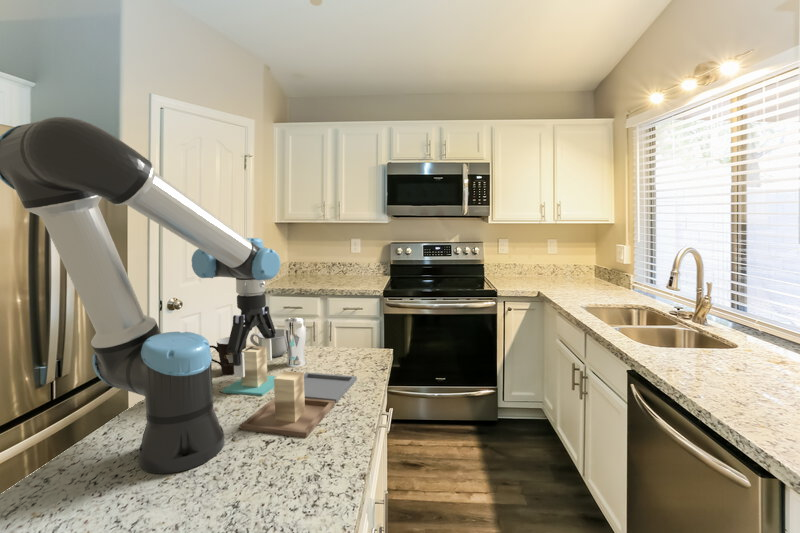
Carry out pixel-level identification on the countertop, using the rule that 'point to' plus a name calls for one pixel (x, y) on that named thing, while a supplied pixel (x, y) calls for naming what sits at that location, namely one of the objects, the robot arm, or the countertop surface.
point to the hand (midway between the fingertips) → (254, 367)
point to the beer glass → (295, 341)
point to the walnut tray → (300, 428)
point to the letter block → (255, 366)
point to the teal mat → (250, 388)
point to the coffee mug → (225, 356)
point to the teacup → (273, 342)
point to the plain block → (289, 396)
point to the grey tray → (326, 386)
